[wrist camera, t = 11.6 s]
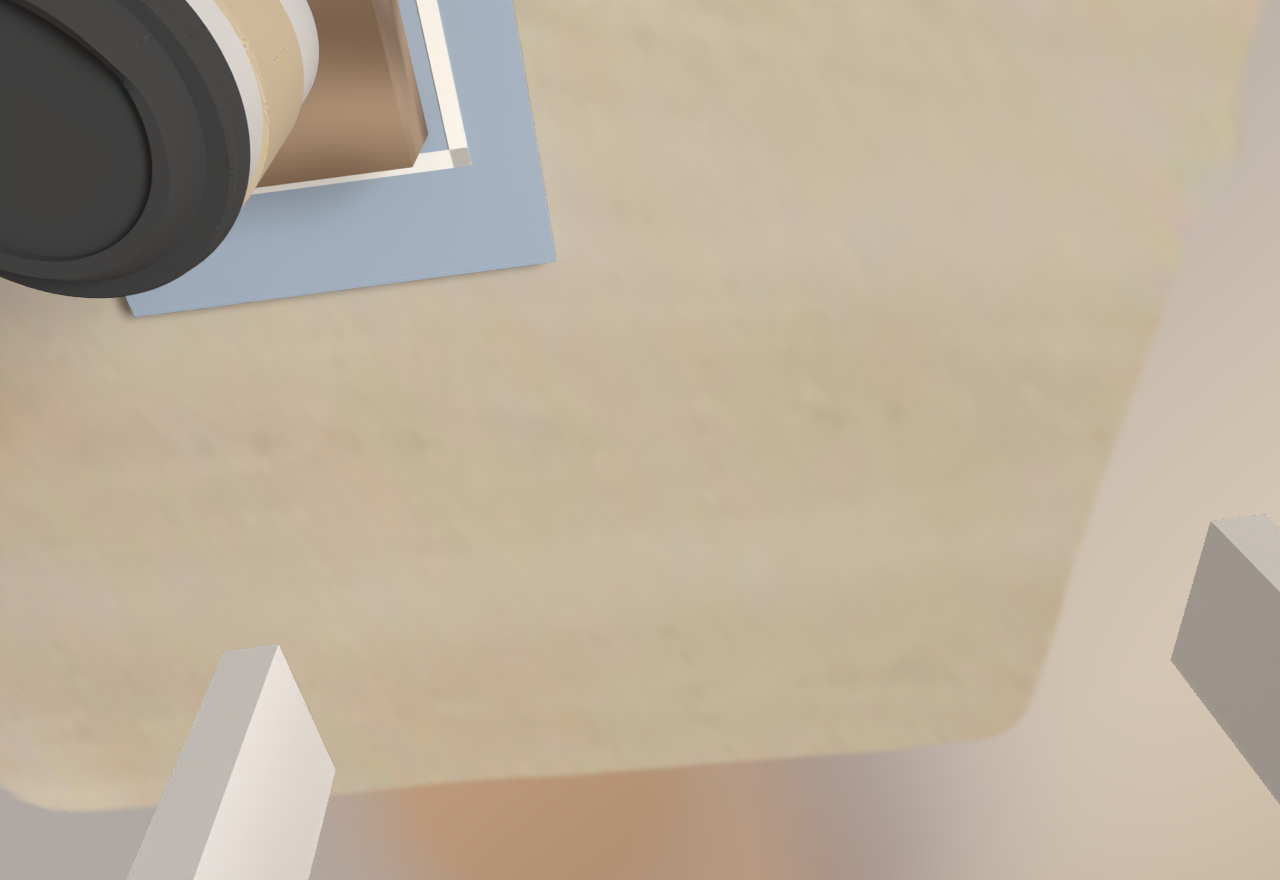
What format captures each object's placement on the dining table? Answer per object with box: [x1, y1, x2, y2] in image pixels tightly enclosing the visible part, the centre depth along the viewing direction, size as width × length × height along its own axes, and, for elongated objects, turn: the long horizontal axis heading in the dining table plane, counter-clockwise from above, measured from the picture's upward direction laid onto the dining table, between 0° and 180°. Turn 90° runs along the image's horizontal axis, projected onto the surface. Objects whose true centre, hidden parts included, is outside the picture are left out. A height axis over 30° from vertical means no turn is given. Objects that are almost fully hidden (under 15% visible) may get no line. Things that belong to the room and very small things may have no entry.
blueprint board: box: [125, 0, 556, 317], centre depth 37 cm, size 24×20×1 cm
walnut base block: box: [256, 0, 428, 188], centre depth 35 cm, size 11×11×5 cm
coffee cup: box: [0, 0, 319, 298], centre depth 26 cm, size 9×9×15 cm
